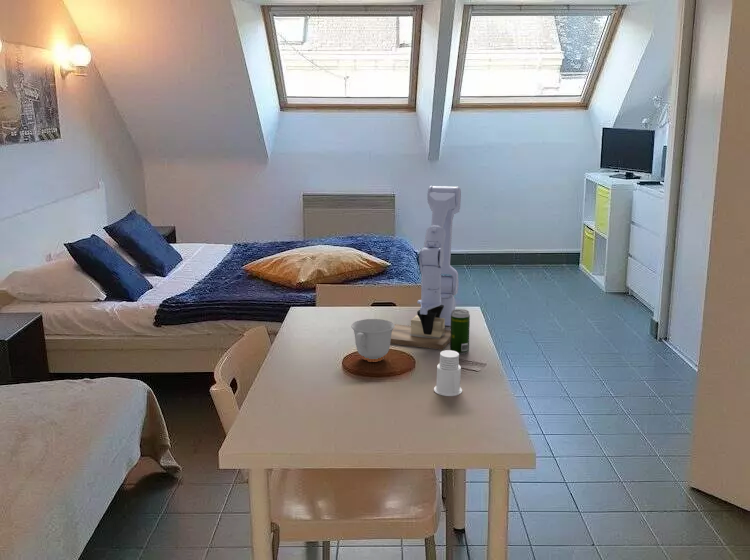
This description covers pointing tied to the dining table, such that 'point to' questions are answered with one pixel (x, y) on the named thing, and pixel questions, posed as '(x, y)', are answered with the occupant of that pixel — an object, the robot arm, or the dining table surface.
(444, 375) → the downlight
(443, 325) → the block
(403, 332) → the board
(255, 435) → the dining table surface
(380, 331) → the teacup
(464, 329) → the guarana soda can
